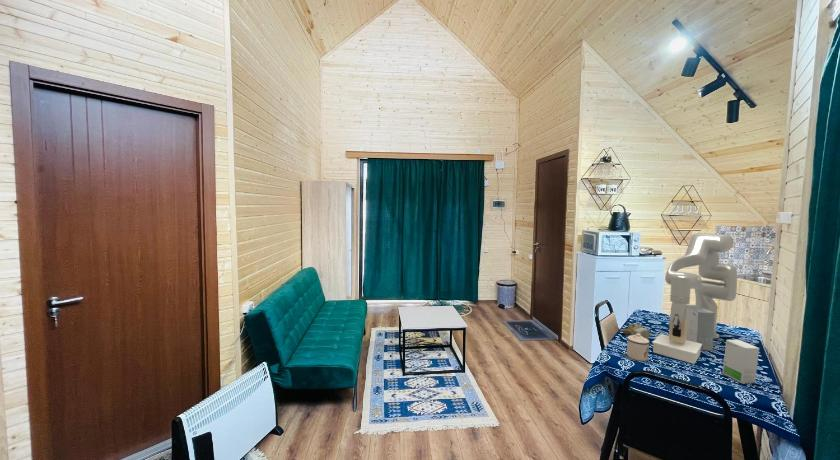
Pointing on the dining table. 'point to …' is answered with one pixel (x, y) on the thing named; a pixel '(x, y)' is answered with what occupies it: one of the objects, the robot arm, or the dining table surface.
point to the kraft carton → (683, 332)
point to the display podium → (677, 349)
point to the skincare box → (740, 361)
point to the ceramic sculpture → (636, 330)
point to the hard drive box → (700, 326)
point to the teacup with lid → (637, 347)
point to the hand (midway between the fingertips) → (677, 334)
